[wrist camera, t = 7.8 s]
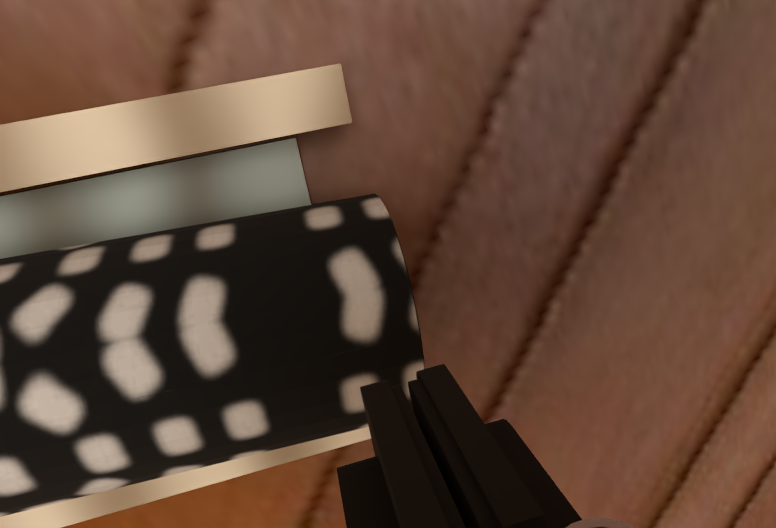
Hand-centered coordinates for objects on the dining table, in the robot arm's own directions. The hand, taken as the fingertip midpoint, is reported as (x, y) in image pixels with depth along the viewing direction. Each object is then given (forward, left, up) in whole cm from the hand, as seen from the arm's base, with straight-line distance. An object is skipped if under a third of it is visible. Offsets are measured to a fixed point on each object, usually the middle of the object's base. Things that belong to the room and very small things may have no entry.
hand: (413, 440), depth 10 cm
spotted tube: (-2, +1, -10) cm, 10 cm away
